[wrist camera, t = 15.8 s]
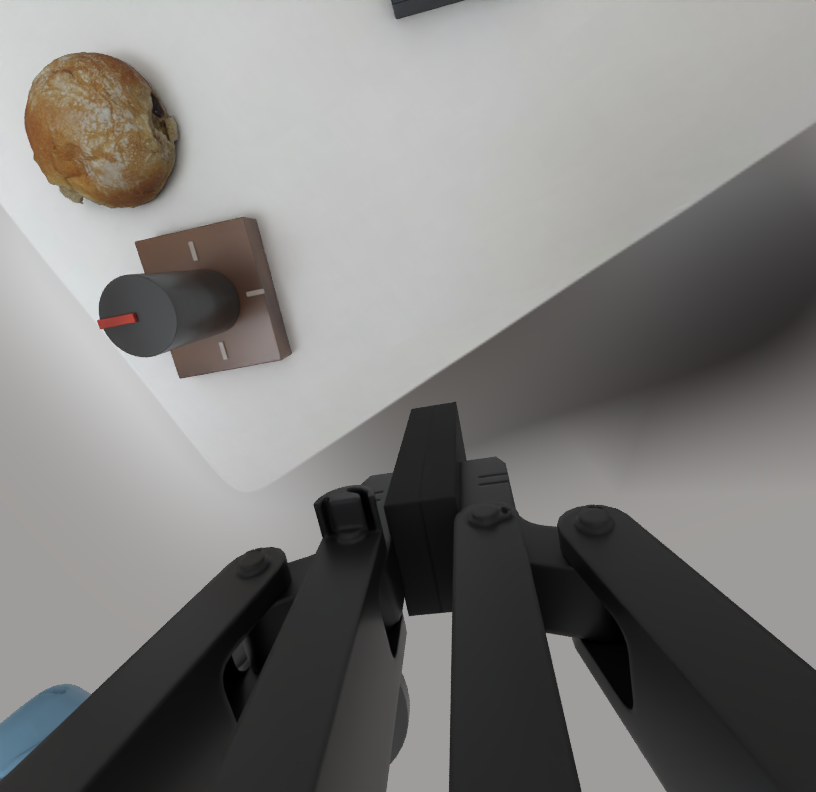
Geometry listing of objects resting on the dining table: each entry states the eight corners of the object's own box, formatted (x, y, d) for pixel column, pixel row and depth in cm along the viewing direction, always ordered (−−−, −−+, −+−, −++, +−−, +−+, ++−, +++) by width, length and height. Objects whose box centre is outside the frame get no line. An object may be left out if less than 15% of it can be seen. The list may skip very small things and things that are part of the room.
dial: (229, 263, 37) (158, 267, 29) (247, 328, 39) (185, 350, 30) (170, 276, 38) (82, 283, 29) (189, 339, 39) (111, 364, 31)
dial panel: (293, 353, 42) (282, 360, 39) (193, 371, 43) (177, 379, 40) (257, 218, 39) (243, 216, 36) (152, 242, 40) (131, 242, 38)
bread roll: (207, 190, 42) (197, 155, 34) (87, 238, 40) (48, 212, 32) (144, 72, 40) (119, 6, 32) (13, 115, 38) (-48, 56, 30)
